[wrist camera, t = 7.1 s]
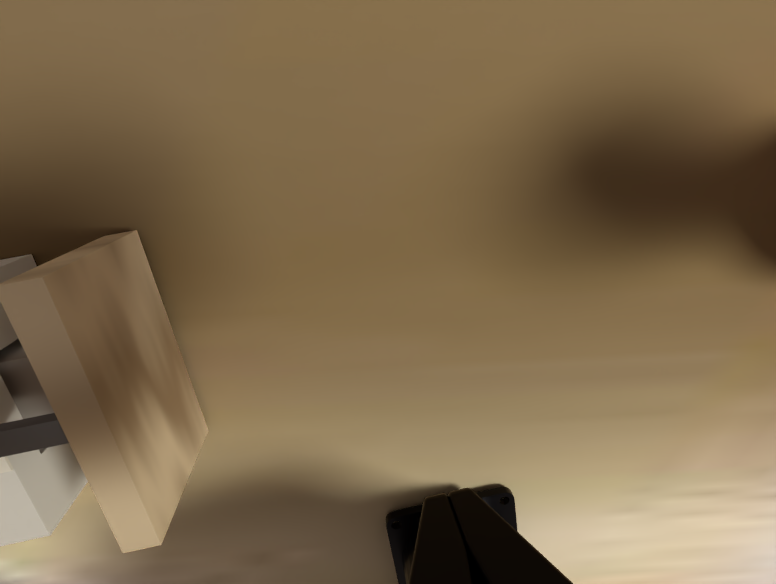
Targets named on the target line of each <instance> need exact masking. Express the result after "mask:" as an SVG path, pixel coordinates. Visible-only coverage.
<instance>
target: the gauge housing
mask: <svg viewBox="0 0 776 584" xmlns="http://www.w3.org/2000/svg"><path fill="white" fill-rule="evenodd" d="M35 267H37V265H36V263H35V261H34V258H33V256H32V254H29V255H24V256H18V257H13V258H8V259H2V260H0V283H2V282H4V281H7V280H9V279H11V278H13V277H15V276H18V275H20V274H22V273H24V272H26V271H29V270H31V269H33V268H35ZM17 339H18V337H17V335H16V333H15V330H14V328H13V326H12V324H11V322H10V320H9V318H8V316H7V314H6V312H5V310H4V308H3V306H2V304H1V302H0V350H2V349H3V348H5V347H6V346H8V345H9V344H11V343H12V342H14V341H15V340H17ZM21 419H23V418H22V416H21V414H20V412H19V410H18V408H17V406H16V404H15V402H14V400H13V398H12V397H11V395H10V393H9V391H8V389H7V387H6V385H5V383H4V381H3V379H2V377H1V375H0V424H2V423H7V422H12V421H16V420H21ZM87 482H88V481H87V479H86V477H85V475H84V472H83V470H82V468H81V466H80V464H79V462H78V460H77V458H76V456H75V454H74V452H73V450H72V448H71V446H70V444H69V443H67V444H62V445H58V446H53V447H48V448H43V449H38V450H34V451H29V452H24V453H19V454H14V455H10V456H5V457H0V546H4V545H9V544H13V543H18V542H23V541H27V540H32V539H36V538H41V537H46V536H50V535H51V534H52V532H53V531H54V529H55V528H56V526H57V525H58V524H59V522H60V521H61V519H62V518H63V516H64V515H65V514H66V512H67V511H68V509H69V508H70V506H71V505H72V503H73V502H74V501H75V499H76V498H77V496H78V495H79V493H80V492H81V491H82V489H83V488H84V486H85V485H86V483H87Z"/></svg>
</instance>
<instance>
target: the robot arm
mask: <svg viewBox="0 0 776 584" xmlns="http://www.w3.org/2000/svg"><path fill="white" fill-rule="evenodd" d="M502 497H505V498H503V499H501V498H502ZM395 521H399V522H397V523H393V522H395ZM386 527H387V532H388V537H389V541H390V546H391V550H392V555H393V559H394V564H395V568H396V573H397V578H398V582H399V584H573V583H572V582H571V581H570V580H569V579H568V578H567V577H565V576H564V575H563V574H562V573H561V572H560V571H559V570H558V569H557V568H556V567H555V566H554V565H553V564H551V563H550V562H549V561H548V560H547V559H546V558H545V557H544V556H543V555H542V554H541V553H540V552H539V551H537V550H536V549H535V548H534V547H533V546H532V545H531V544H530V543H529V542H528V541H527V540H526V539H525V538H523V537H522V536H521V535H520V534H519V533H518V532H517V523H516V512H515V501H514V497H513V494H512V492H511V490H510V489H509V488H507V487H499V488H495V489H490V490H486V491H481V492H477V493H475V492H474V491H473V490H472V489H470V488H464V489H459V490H455V491H451V492H449V494H448V496H447V495H446V494H445V493H441V494H437V495H433V496H428V497H426V498H425V499H424V502H423V505H419V506H415V507H410V508H406V509H401V510H397V511H393V512H390V513H389V514H388V515H387V516H386Z"/></svg>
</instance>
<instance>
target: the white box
mask: <svg viewBox="0 0 776 584" xmlns="http://www.w3.org/2000/svg"><path fill="white" fill-rule="evenodd" d="M0 302H1V304H2V306H3V308H4V310H5V312H6V314H7V316H8V318H9V320H10V322H11V324H12V326H13V328H14V330H15V333H16V335H17V337H18V339H17V340H15V341H14V342H12V343H11V344H9V345H8V346H6V347H5V348H3V349H2V350H0V375H1V377H2V379H3V381H4V383H5V385H6V387H7V389H8V391H9V393H10V395H11V397H12V398H13V400H14V402H15V404H16V406H17V408H18V410H19V412H20V414H21V416H22V418H23V419H21V420H16V421H12V422H7V423H2V424H0V457H5V456H10V455H14V454H19V453H24V452H29V451H34V450H38V449H43V448H48V447H53V446H58V445H62V444H67V443H69V444H70V446H71V448H72V450H73V452H74V454H75V456H76V458H77V460H78V462H79V464H80V466H81V468H82V470H83V472H84V475H85V477H86V479H87V481H88V483H89V485H90V487H91V489H92V491H93V493H94V495H95V497H96V499H97V501H98V503H99V505H100V507H101V510H102V512H103V514H104V516H105V518H106V520H107V522H108V524H109V526H110V528H111V530H112V532H113V534H114V536H115V538H116V540H117V542H118V544H119V547H120V549H121V551H122V553H128V552H132V551H137V550H141V549H146V548H150V547H155V546H159V545H162V542H163V540H164V537H165V535H166V533H167V530H168V528H169V525H170V523H171V520H172V518H173V515H174V513H175V511H176V508H177V506H178V503H179V501H180V498H181V496H182V494H183V491H184V489H185V486H186V484H187V481H188V479H189V476H190V474H191V472H192V469H193V467H194V464H195V462H196V459H197V457H198V455H199V452H200V450H201V447H202V445H203V442H204V440H205V438H206V435H207V433H208V428H207V425H206V422H205V419H204V417H203V414H202V411H201V408H200V405H199V403H198V400H197V397H196V394H195V391H194V389H193V386H192V383H191V380H190V377H189V375H188V372H187V369H186V366H185V364H184V361H183V358H182V355H181V352H180V350H179V347H178V344H177V341H176V338H175V336H174V333H173V330H172V327H171V324H170V322H169V319H168V316H167V313H166V310H165V308H164V305H163V302H162V299H161V296H160V294H159V291H158V288H157V285H156V282H155V280H154V277H153V274H152V271H151V269H150V266H149V263H148V260H147V257H146V255H145V252H144V249H143V246H142V243H141V241H140V238H139V235H138V232H137V230H134V231H129V232H123V233H118V234H113V235H107V236H103V237H101V238H99V239H96V240H94V241H92V242H90V243H88V244H86V245H83V246H81V247H79V248H77V249H75V250H72V251H70V252H68V253H66V254H64V255H61V256H59V257H57V258H55V259H53V260H50V261H48V262H46V263H44V264H42V265H39V266H37V267H35V268H33V269H31V270H29V271H26V272H24V273H22V274H20V275H18V276H15V277H13V278H11V279H9V280H7V281H4V282H2V283H0Z"/></svg>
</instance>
